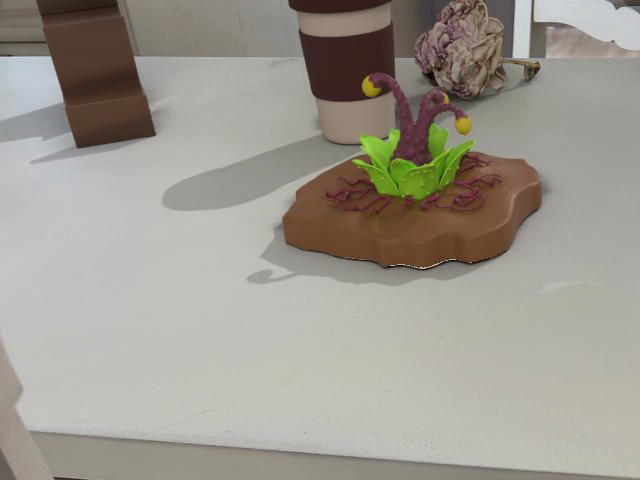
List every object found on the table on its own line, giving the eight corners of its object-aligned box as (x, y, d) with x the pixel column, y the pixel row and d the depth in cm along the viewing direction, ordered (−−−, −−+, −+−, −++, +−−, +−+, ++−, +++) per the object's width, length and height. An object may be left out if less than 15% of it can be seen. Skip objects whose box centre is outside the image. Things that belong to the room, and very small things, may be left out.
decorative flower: (510, 25, 115) (389, 14, 108) (558, -18, 106) (429, -33, 99) (521, 119, 116) (402, 114, 109) (570, 84, 107) (443, 76, 100)
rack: (156, 135, 105) (124, 12, 98) (77, 148, 103) (38, 24, 96) (143, 102, 115) (113, -12, 107) (70, 114, 113) (35, -2, 105)
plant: (359, 167, 94) (341, 35, 87) (563, 182, 88) (562, 41, 81) (251, 256, 80) (219, 107, 73) (485, 280, 74) (475, 120, 67)
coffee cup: (346, 114, 107) (324, -50, 97) (427, 123, 103) (412, -47, 93) (290, 144, 100) (260, -28, 91) (374, 155, 96) (352, -24, 87)
